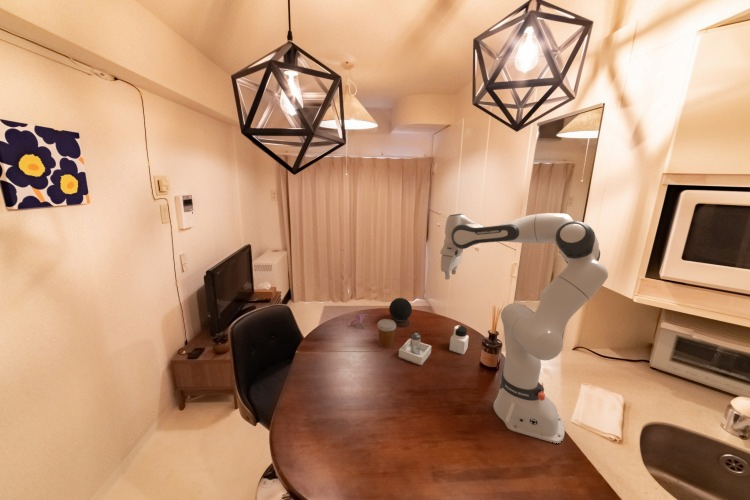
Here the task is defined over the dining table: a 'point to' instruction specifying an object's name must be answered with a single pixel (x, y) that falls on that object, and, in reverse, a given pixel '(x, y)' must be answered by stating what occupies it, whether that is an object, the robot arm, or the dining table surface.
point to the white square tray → (418, 359)
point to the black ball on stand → (400, 312)
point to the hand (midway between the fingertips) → (450, 276)
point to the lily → (358, 318)
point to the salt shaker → (415, 343)
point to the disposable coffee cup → (386, 332)
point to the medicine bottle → (459, 340)
